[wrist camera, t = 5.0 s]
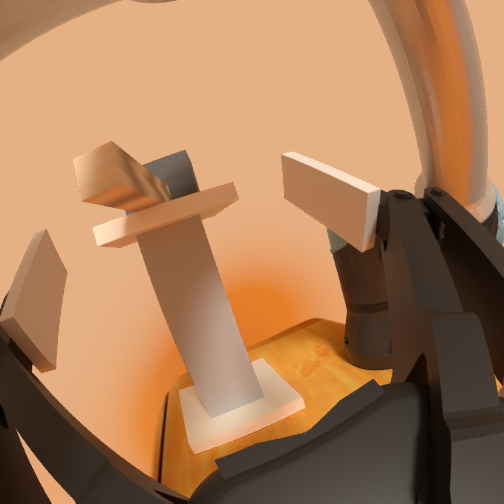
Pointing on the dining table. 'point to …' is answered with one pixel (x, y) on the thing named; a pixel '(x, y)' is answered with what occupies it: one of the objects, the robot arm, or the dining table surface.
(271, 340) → the dining table surface
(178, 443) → the dining table surface
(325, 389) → the dining table surface
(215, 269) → the stand
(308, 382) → the dining table surface
